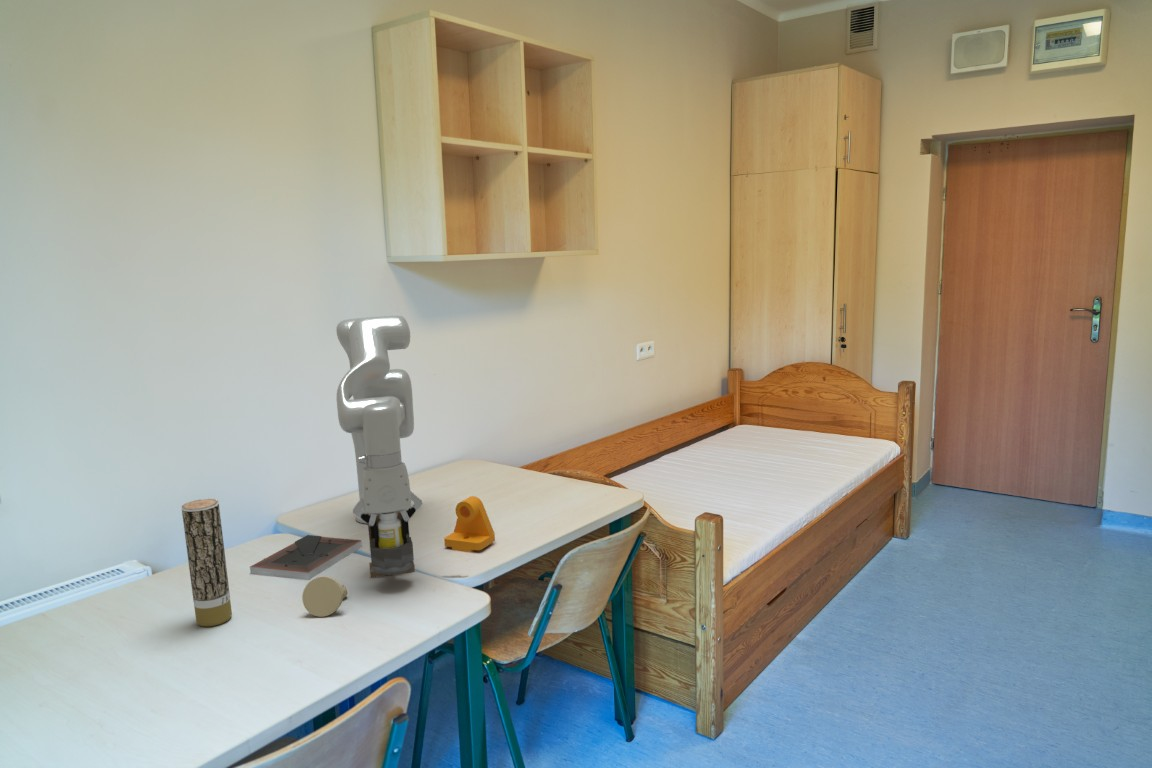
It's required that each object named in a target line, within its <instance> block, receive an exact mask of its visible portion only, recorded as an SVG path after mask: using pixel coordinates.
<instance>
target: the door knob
mask: <svg viewBox="0 0 1152 768" xmlns="http://www.w3.org/2000/svg"><path fill="white" fill-rule="evenodd" d="M347 595H348V588H347V587H346V586H345V585H344V584H340V583H339V582H338V581H337V580H336V579H334V578H333V577H331V576H326V575H325V576H319V577H316V578H312V579H311V580H309V582H308V583H307V584H306V586H305V587H304V588H303V592H302V597H301V598H302V604H303V607H304V609H305V610H306V611H307V613H309V614H311V615H312V616H314V617H318V618H321V617H322V618H323V617H328V616H330V615H333V614H334V613H335V612H336V611H337V610H338V609H339V608H340V607H341V605H342V603H343V600H344V599H345V598H346V597H347Z"/></svg>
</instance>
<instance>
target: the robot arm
mask: <svg viewBox="0 0 1152 768" xmlns="http://www.w3.org/2000/svg"><path fill="white" fill-rule="evenodd" d="M335 331H336V336H337V339H338V342H339V343H340V345H341V347H342V348H343V350H344V351H345V354H346V355H347V358H348V362H349V370H348V371H347V372H346V373H345V374H344V376H343V377H342V378H341V380H340V381H339V383H338V386H337V389H336V390H337V391H336V408H337V419H338V423H339V426H340V428H341V429H342V431H343V432H345V433H348V434H351V438H352V442H353V447H354V455H355V464H356V474H357V486H358V495H359V496H358V497H359V498H358V499H359V501H357V503H356V504H355V506H354V507H353V508H352V513H353V515H355V520H356V522H358V523H361V524H367V525H368V524H369V525H370V528H371V539H373V538H375V543H378V532H377V522H376V521H375V520H376V516H377V514H381V513H389V512H397V511H400V512H401V514H402V519H401V522H402V532H403V539H407V538H406V534H409V535H410V527H409V526H410V525H409V521H410V519H411V518H412V517H413V516H414V514H416V512H417V510H418V509H419V508H421V506H423V500H422V499H420V497H418V496H417V495H416V494H415V493H414V492H412V490H411V486H410V485H411V484H410V478H409V474H408V473H409V472H408V469H407V466H406V464H405V462H403V460H402V449H401V439H405V438H409V437H410V436H411V435H413V433H414V431H415V430H414V429H415V418H414V417H415V416H414V402H413V401H414V400H413V388H412V387H413V386H412V380H411V377H410V374H409V373H408V371H406V370H405V369H401V368H393V369H392V368H391V365H390V363H391V362H390V359H389V354H388V353H389V352H388V351H395V350H396V351H397V350H406V349H407V348H408V347H409V346H410V343H411V329H410V326H409V323H408V321H407V319H406V318H405V316H402V315H384V316H383V315H382V316H370V317H361V318H360V317H359V318H349V319H344V320H342V321H341V320H340V322H338V324H337V326H336V330H335ZM390 368H391V369H390ZM351 398H352V399H351ZM412 502H413V504H412ZM368 514H370V515H368Z"/></svg>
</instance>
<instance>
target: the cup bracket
mask: <svg viewBox="0 0 1152 768" xmlns="http://www.w3.org/2000/svg"><path fill="white" fill-rule="evenodd" d="M397 513H398V517H397V518H398V519H400V520H401V519H402V514H401V512H400V511H397ZM368 515H370V514H368ZM375 521H376V522H377V523H378V522H379V521H380V519H379V514H377V516H376V520H375ZM367 527H368V528H367V529H368V538H369V550H370V551H369V552H370V561H371V562H369V564H368V565H369V572H370V574H369V575H370V578H379V577H386V576H387V577H388V576H394V575H400V574H408V573H413V572H414V573H415V572H416V570H415V567H416V566H415V563H414V560H415V558H414V547H413V539H412V536H410V533H409V534H406V538H407V539H403V543H404V545H402V546H400V547H395V548H388V549H383V548H379V544H378V543H375V538H373V539H371V528H370V525H369V524H367Z"/></svg>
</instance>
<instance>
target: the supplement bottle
mask: <svg viewBox="0 0 1152 768" xmlns="http://www.w3.org/2000/svg"><path fill="white" fill-rule="evenodd" d="M397 517H398V513H397V512H389V513H381V514H379V519H380V521H379V522H378V523H377V532H378V544H379V548H383V549H388V548H395V547H400V546H402V545H404V543H403V532H402V522H401V520H400V519H398V518H397Z"/></svg>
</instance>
